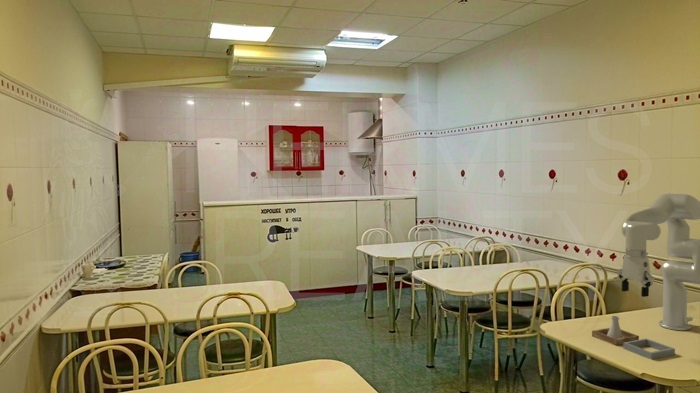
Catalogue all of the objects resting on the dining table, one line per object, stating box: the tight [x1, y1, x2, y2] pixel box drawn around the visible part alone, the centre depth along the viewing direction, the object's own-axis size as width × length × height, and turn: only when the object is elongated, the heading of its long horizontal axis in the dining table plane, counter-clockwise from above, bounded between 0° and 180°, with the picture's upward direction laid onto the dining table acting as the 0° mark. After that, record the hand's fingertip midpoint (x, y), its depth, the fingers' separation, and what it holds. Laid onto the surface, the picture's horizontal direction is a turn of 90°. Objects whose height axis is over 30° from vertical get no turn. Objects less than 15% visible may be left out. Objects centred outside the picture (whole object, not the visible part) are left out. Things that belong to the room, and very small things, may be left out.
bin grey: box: [622, 338, 676, 360], centre depth 205 cm, size 13×13×2 cm
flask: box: [607, 315, 624, 339], centre depth 220 cm, size 7×7×10 cm
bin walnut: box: [591, 327, 640, 346], centre depth 220 cm, size 13×13×2 cm
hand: (634, 293), depth 207 cm, fingers open, 9 cm apart
